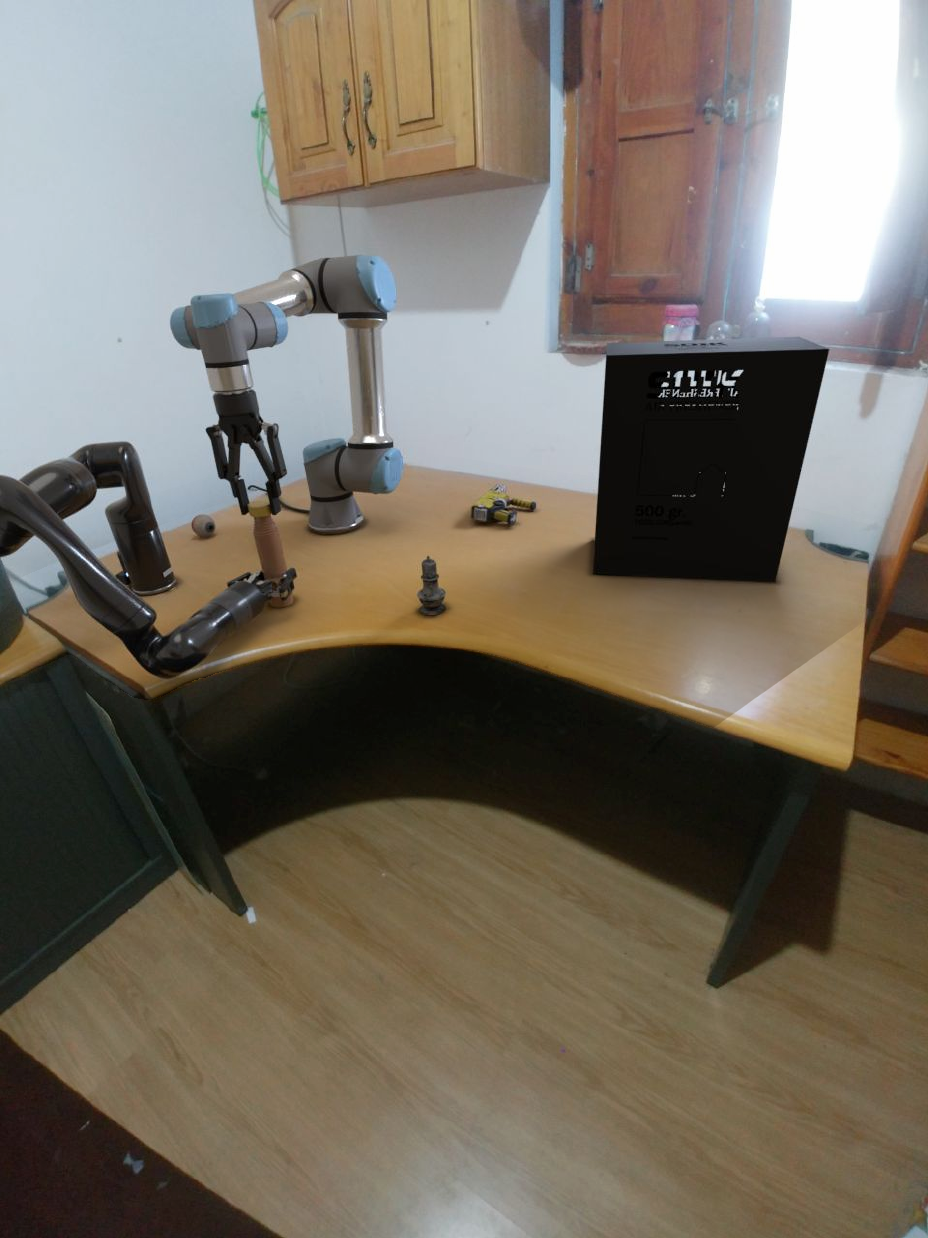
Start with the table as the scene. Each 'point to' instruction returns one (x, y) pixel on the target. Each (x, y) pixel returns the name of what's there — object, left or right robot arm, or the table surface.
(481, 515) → the toy gun
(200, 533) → the eyeball
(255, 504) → the cap
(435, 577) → the dark grey tiered piece
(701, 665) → the table surface
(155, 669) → the left robot arm
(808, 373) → the cardboard box
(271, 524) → the bottle
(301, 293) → the right robot arm
